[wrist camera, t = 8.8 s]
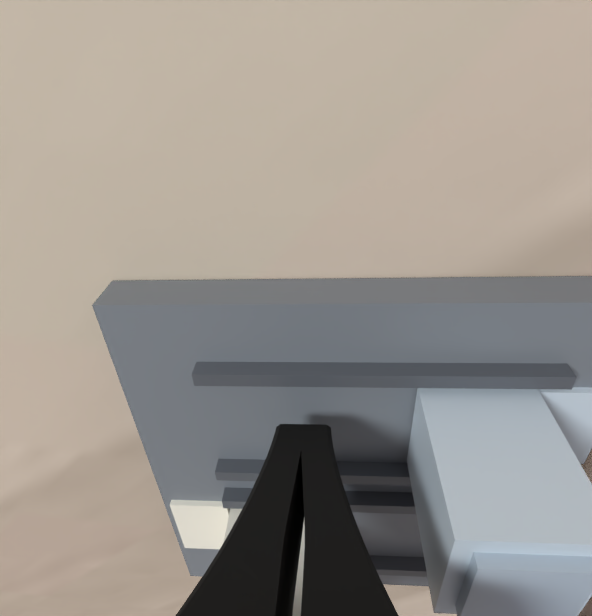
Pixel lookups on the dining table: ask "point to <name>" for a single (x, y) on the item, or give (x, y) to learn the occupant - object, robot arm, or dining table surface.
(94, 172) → the dining table surface
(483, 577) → the grey switch
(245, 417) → the switch panel
